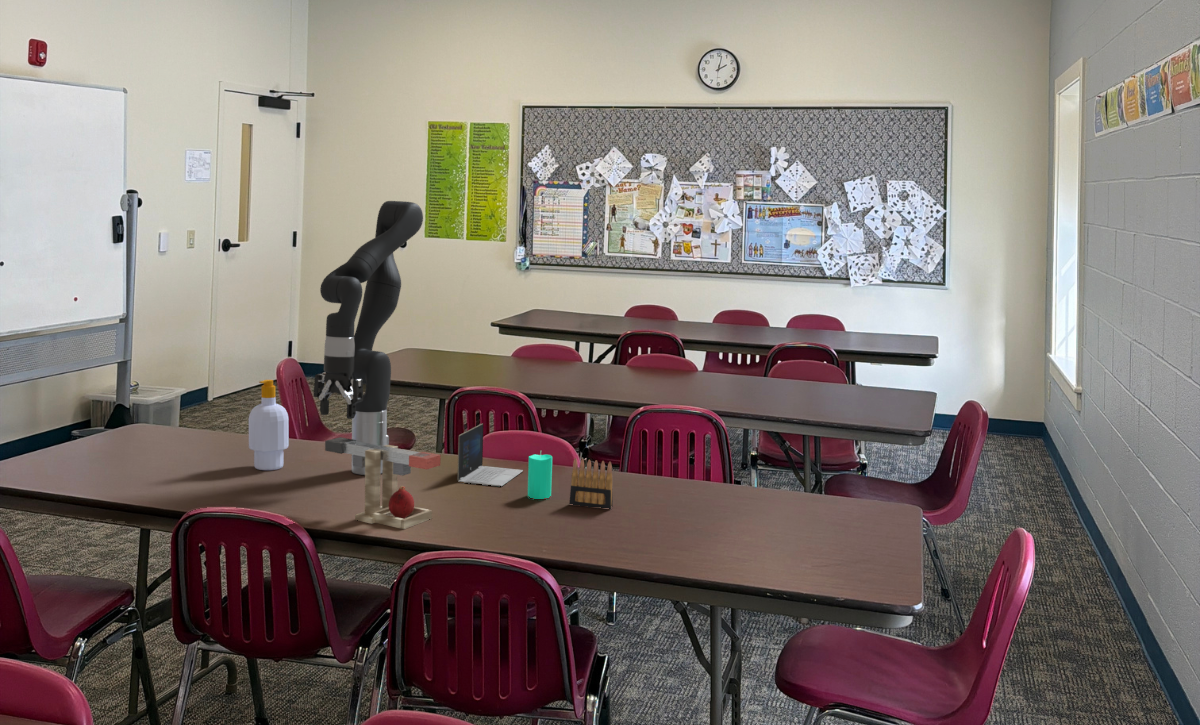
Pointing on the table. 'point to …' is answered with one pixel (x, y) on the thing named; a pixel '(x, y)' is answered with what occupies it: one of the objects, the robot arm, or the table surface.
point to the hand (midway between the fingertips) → (337, 416)
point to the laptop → (479, 461)
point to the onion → (401, 503)
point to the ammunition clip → (591, 485)
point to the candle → (539, 476)
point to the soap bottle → (268, 430)
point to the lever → (384, 455)
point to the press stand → (385, 495)
